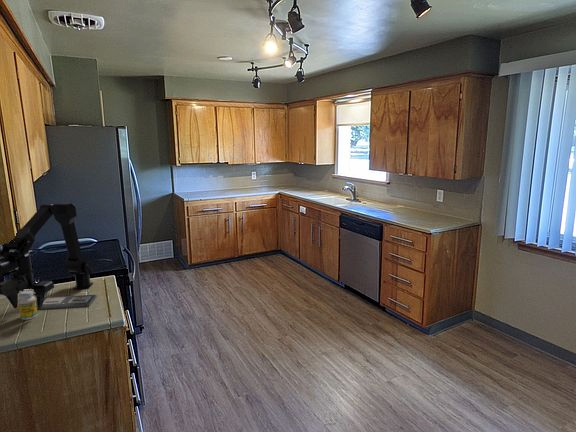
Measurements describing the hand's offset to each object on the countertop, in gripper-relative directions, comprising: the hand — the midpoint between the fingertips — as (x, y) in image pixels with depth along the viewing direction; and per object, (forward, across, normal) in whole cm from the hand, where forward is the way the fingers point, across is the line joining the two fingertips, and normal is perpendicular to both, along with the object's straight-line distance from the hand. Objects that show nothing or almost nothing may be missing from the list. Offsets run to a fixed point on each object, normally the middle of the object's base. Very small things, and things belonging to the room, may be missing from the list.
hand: (27, 308), depth 142 cm
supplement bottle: (+4, 0, 0) cm, 4 cm away
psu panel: (+4, +7, +12) cm, 15 cm away
